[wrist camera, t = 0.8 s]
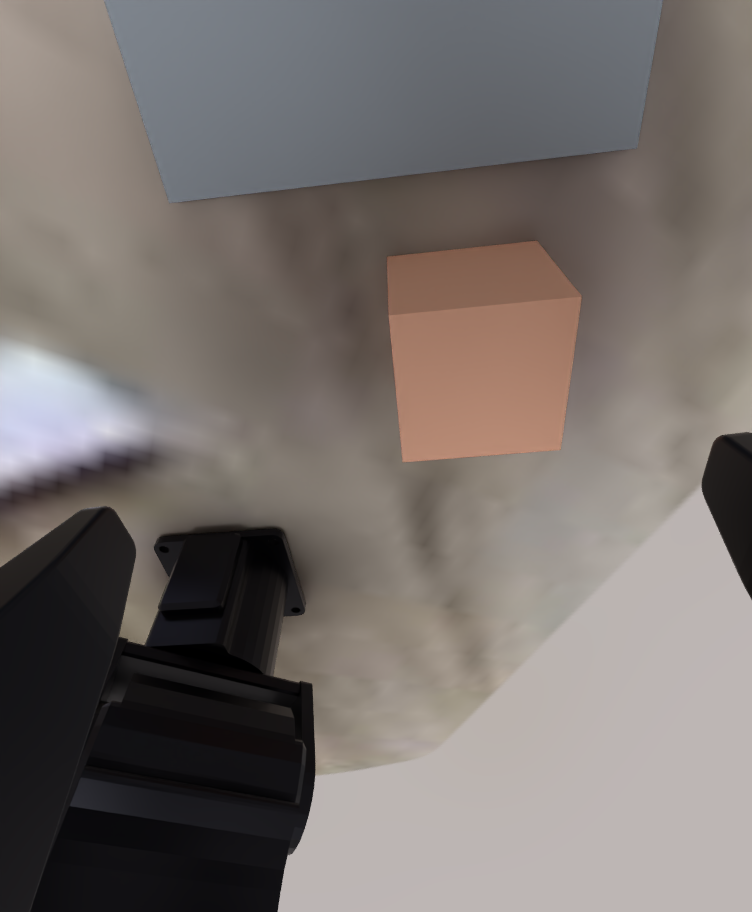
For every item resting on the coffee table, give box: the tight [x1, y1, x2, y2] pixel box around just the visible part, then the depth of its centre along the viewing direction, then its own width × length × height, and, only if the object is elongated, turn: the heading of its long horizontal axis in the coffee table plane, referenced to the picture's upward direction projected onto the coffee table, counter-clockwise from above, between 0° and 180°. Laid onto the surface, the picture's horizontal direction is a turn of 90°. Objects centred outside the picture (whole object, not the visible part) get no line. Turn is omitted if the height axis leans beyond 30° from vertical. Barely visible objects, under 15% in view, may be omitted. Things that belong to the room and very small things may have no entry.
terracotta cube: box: [387, 241, 582, 462], centre depth 17 cm, size 5×5×5 cm
